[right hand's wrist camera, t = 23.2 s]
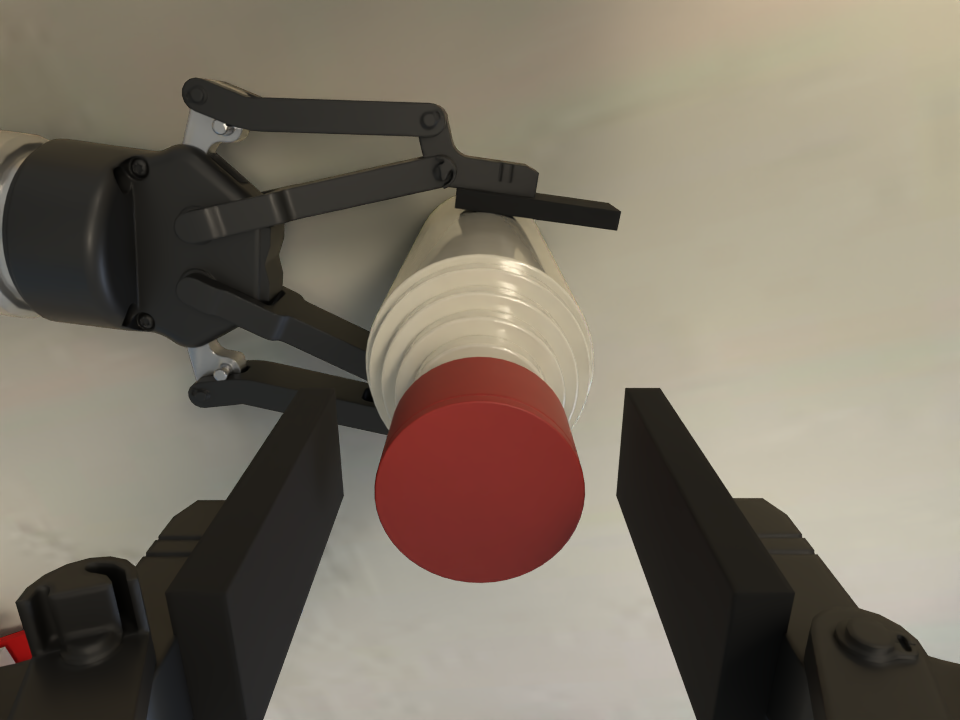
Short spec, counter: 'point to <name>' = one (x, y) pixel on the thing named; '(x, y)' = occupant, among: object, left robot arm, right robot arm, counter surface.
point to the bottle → (479, 309)
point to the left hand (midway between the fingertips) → (594, 301)
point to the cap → (479, 472)
